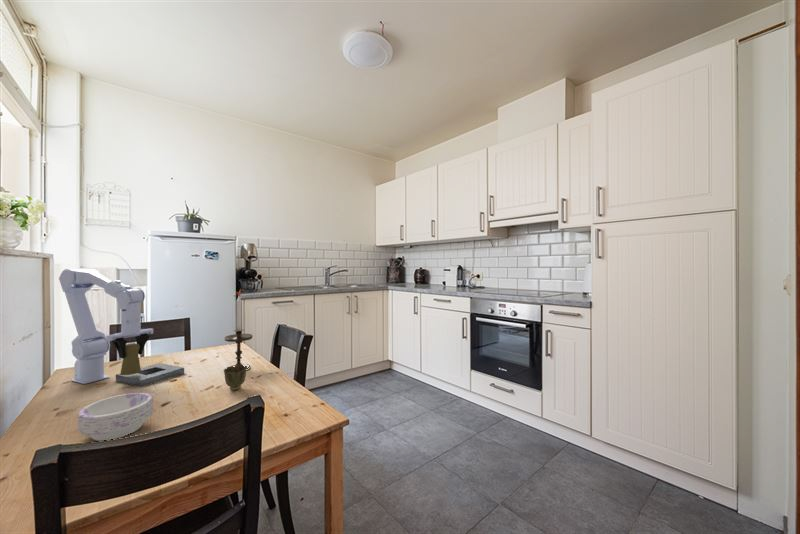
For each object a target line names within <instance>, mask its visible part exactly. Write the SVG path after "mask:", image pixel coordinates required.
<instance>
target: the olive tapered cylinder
mask: <svg viewBox="0 0 800 534" xmlns="http://www.w3.org/2000/svg"><path fill="white" fill-rule="evenodd" d="M139 349H140V346H139V344H137V343H136V342H135V343H126V347H125V358H122V364H121V369H120V375H131V374H136V373H139V372H141V368H142V367H141V363H140V356H139V355H140V354H138V351H139Z"/></svg>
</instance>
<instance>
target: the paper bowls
mask: <svg viewBox="0 0 800 534" xmlns="http://www.w3.org/2000/svg"><path fill="white" fill-rule="evenodd" d="M153 402H154V397H153V395H151V394H150V393H146V392H131V393H123V394H119V395H114V396H113V395H112V396H110V397H107V398H103V399H100V400H97V401H94V402H93V403H92V402H91V403H90V404H88V405H86V406H84V407H83V408H81V409H80V410H79V412H78V414H77V416H78V417H77V420H78V423H77V424H78V432H79V433H80V434H81V435H84V436H85V435H86V436H89V437H90V438H91V439H92V440H94V441H97V442H98V441H99V442H102V441H103V442H105V441H104V440H106V441H112V440H111V439H113V440H116V439H120V438H123V437H126V436H129V435H130V433H131V434H133V433H135V432H136V431H138V430H140V428H141V427H142V426H143V424H144V423H145V421H147V420H148V419H149V418H150V417H151V416H152V415H153V413H154V403H153ZM128 434H129V435H128ZM125 435H126V436H125Z"/></svg>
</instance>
